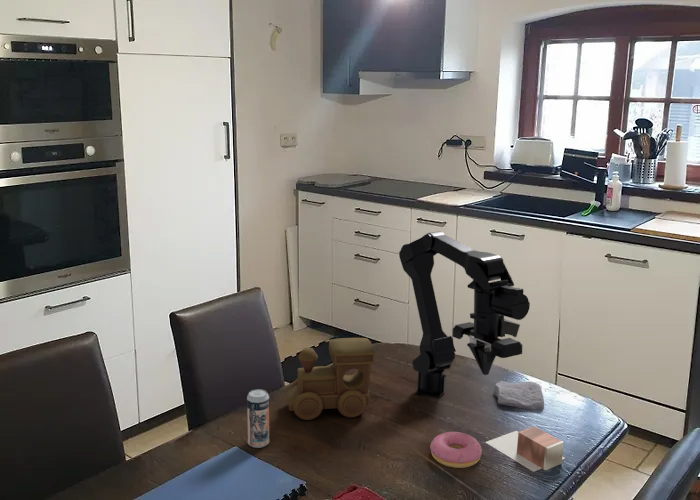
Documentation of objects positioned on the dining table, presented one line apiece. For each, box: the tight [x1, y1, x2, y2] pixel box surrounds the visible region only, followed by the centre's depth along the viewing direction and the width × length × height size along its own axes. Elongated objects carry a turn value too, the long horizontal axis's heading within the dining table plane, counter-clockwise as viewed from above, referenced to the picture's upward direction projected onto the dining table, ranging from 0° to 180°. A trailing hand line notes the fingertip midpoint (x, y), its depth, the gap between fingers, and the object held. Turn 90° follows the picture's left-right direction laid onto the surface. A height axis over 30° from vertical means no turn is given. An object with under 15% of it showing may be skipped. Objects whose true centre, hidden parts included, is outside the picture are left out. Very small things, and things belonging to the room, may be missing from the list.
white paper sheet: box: [485, 430, 566, 473], centre depth 151 cm, size 14×10×1 cm
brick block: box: [517, 426, 565, 471], centre depth 147 cm, size 5×5×8 cm
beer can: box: [246, 388, 270, 449], centre depth 150 cm, size 5×5×12 cm
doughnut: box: [429, 431, 483, 469], centre depth 147 cm, size 11×11×4 cm
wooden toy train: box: [286, 337, 376, 421], centre depth 166 cm, size 20×11×17 cm, turn 99°
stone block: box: [493, 380, 545, 411], centre depth 174 cm, size 12×5×10 cm
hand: (485, 374), depth 161 cm, fingers closed
